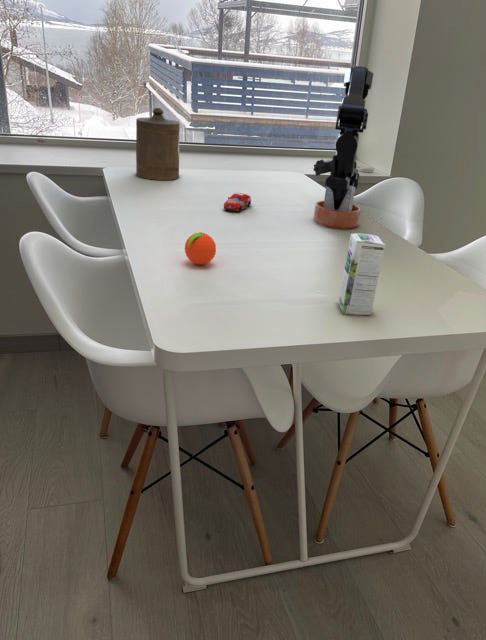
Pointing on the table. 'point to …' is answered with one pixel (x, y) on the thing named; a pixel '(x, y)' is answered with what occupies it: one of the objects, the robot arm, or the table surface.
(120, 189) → the table surface
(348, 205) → the medicine box
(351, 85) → the robot arm
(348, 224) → the bowl
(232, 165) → the table surface
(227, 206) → the race car
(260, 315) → the table surface
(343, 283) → the syrup box
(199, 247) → the clementine
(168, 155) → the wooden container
